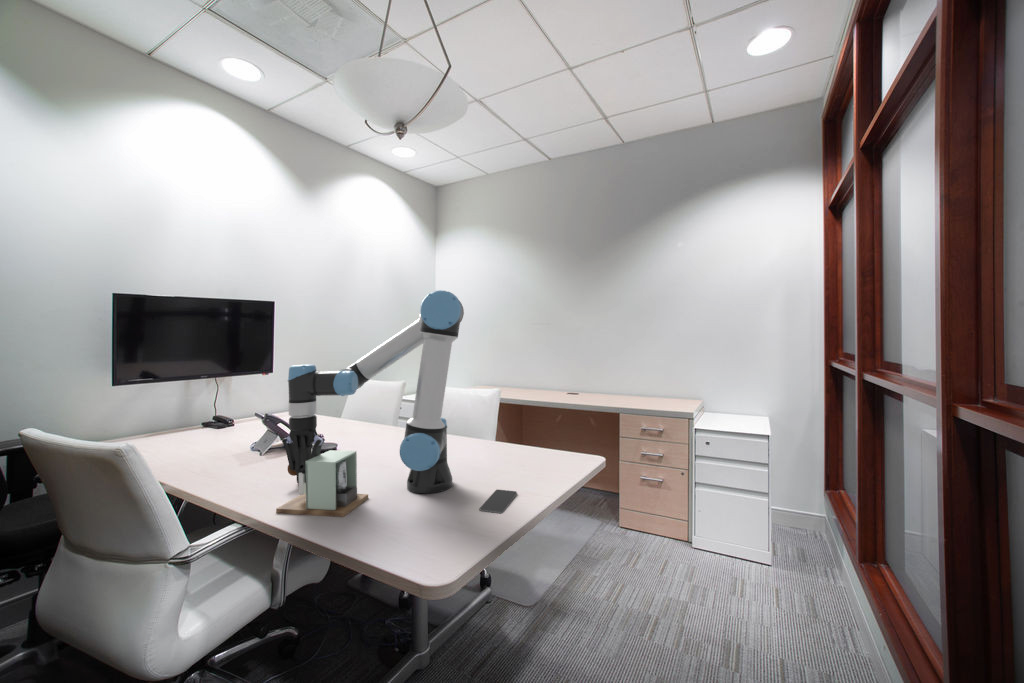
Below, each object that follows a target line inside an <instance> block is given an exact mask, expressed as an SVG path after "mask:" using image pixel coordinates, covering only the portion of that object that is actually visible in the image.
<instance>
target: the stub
mask: <svg viewBox="0 0 1024 683" xmlns="http://www.w3.org/2000/svg"><path fill="white" fill-rule="evenodd" d="M346 492H347V471H346V460H342V461H340V462H338V463H336V493H338V494H345V493H346Z"/></svg>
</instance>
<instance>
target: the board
mask: <svg viewBox="0 0 1024 683" xmlns="http://www.w3.org/2000/svg"><path fill="white" fill-rule="evenodd" d="M368 499H369V494H368V493H358V486H357V487H347V492H346V493H345V494H338V493H336V510H324V509H306V494H304V495H298V496H296V497H294V498H292V499H291V500H290V501H286V502H285V503H284V504H282V505H279V506H278V507H276V509H275V511H276V512H275V513H277V514H289V515H306V516H307V515H308V516H323V517H324V516H325V517H326V516H327V517H342V518H344V517H345V516H347V515H348V514H349V513H351V512H352V511H353V510H355V509H356V508H357V507H359V506H360V505H362V504H363V503H364V502H365V501H367V500H368Z"/></svg>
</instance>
